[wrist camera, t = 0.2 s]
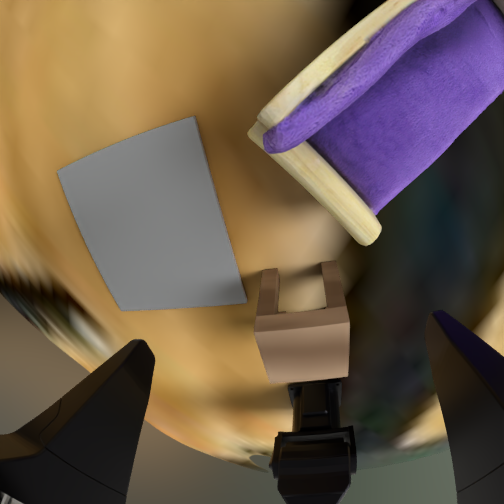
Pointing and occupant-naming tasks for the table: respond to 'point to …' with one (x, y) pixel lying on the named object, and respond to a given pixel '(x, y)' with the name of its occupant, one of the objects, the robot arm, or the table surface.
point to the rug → (155, 221)
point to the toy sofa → (385, 103)
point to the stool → (303, 333)
